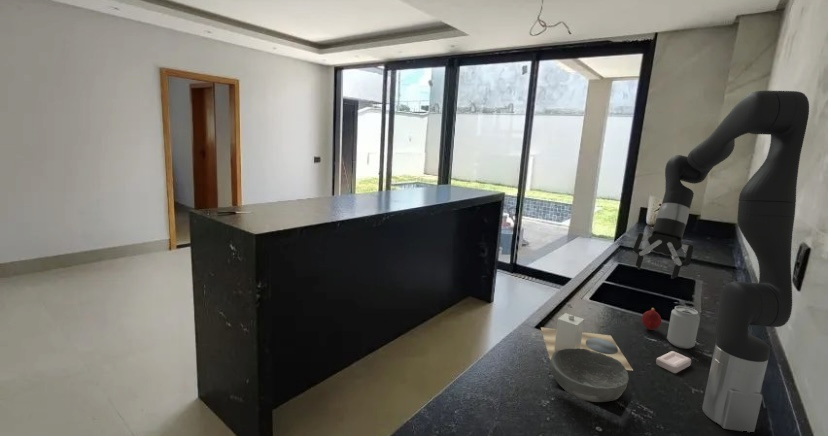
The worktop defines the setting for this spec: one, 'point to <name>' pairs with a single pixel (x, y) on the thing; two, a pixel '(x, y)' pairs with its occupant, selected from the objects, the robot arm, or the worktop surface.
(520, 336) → the worktop surface
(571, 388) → the bowl
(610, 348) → the board
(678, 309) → the can
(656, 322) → the onion
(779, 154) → the robot arm
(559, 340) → the small milk carton
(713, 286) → the worktop surface
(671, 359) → the soap bar
